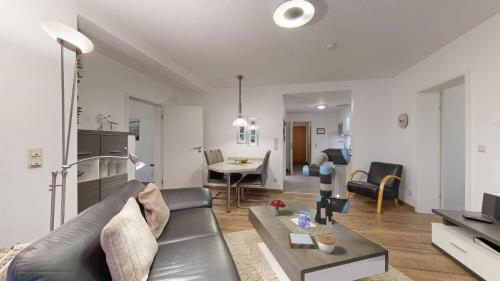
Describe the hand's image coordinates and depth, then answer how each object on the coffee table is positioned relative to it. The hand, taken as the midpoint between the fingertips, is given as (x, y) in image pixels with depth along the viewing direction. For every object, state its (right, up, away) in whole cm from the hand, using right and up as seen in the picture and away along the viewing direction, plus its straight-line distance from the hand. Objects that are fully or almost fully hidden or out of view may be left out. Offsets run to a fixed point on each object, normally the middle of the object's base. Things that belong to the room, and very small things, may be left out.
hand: (326, 221), depth 130 cm
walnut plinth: (-14, -19, +11) cm, 26 cm away
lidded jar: (0, -19, 0) cm, 19 cm away
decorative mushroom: (-23, -19, +62) cm, 69 cm away
